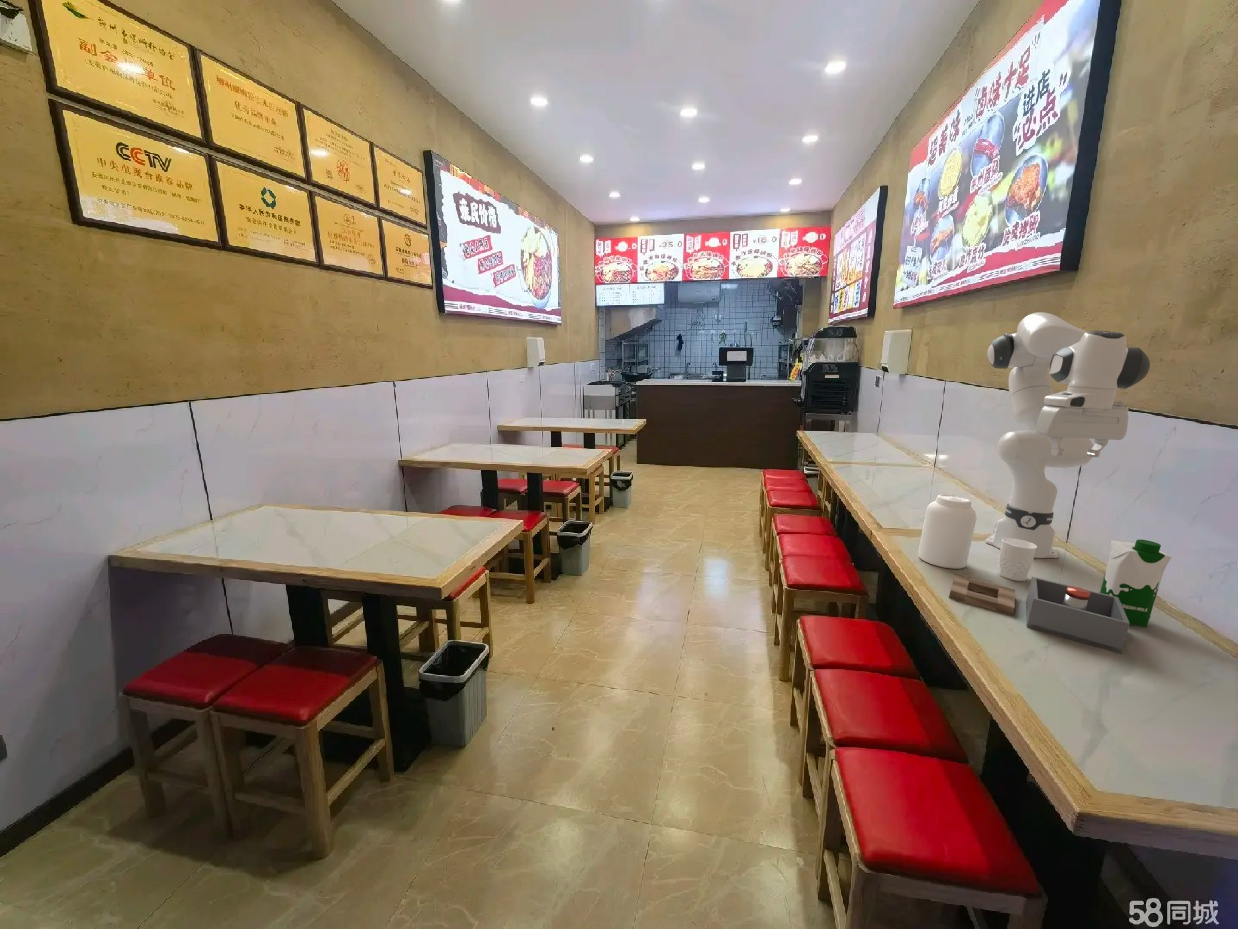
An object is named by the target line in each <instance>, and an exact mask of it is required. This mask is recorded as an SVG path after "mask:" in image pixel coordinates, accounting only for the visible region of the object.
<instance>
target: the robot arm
mask: <svg viewBox="0 0 1238 929" xmlns="http://www.w3.org/2000/svg"><path fill="white" fill-rule="evenodd" d="M1016 328H1017V329H1016V333H1009V334H1008V332H1006V333H1004V334H1003V335H1000V336H999V337H996V338H994V339H993V340H992V341H991V342H990V343H989V344H988V349H987V359H988V361H989V363H990V365H991V366H992V368H994V369H998V370H999V369H1003V370H1006V369H1009V368H1010V369H1011V370H1010V372H1009V374H1008V393H1009V394H1008V395H1009V400H1010V404H1011V408H1012V413H1013V416H1014V419H1015V421H1016V422H1017V423H1018V424H1020V425H1021V426H1023V427H1024V428H1027V430H1026V429H1025V430H1024V429H1023V430H1022V429H1021V430H1014V431H1007V432H1005V433H1004V434H1002V436H1000V438H999V440H998V441H997V445H996V446H997V447H996V448H997V449H996V450H997V453H998V456H999V458H1000V460H1002V461H1003V462H1004V463H1005V464H1006V465H1007V466H1008V467H1009V471H1010V473H1011V477H1012V486H1011V492H1010V497H1009V503H1008V504H1006V507H1005V512H1004V517H1002V518H1000V519H997V521H996V522H995V525H994V529H995V530H994V531H993V534H991V535H990V536H989V537H987V538H985V543H986V544H988V545H991V546H994V547H996V548H998V549H999V550H1000V548H1001V542H1002V539H1003V538H1013V539H1019V540H1023V541H1027V542H1030V543H1032V544H1034V545H1036V546H1037V549H1036V553H1035V556H1034V559H1035V558H1036V559H1046V558H1050V559H1051V558H1052V559H1058V558H1059V554H1058V553H1057V551H1055V550H1054V549H1053V546H1054V541H1055V537H1056V530H1055V529H1054V528H1053V527H1052V525H1051V524H1052V522H1053V519H1054V514H1055V513H1054V512H1053V511H1054V506H1055V503H1056V499H1057V495H1058V488H1057V486H1056V484H1054V482H1052V481H1051V480H1049V479H1048V478H1047V476H1046V474H1045V468H1046V467H1047V468H1061V469H1067V468H1068V469H1069V468H1075V467H1077V468H1078V467H1082V466H1085V465H1087V464H1088V463H1089V462H1090V461H1091V460H1092V458H1100V456H1101V451H1103V449H1104V448H1106V446H1107V445H1108V443H1109V441H1111V440H1112V441H1113V440H1115V441H1121V440H1123V439H1124V438H1125V437H1126V435H1127V430H1128V424H1129V414H1128V412H1129V406H1128V405H1127V404H1126V403H1125V402H1124V401H1115V399H1116V395H1117V391H1118V389H1124V390H1126V389H1129V388H1131V387H1133V386H1134V385H1136V384H1139V382H1141V381H1142V380H1144V379H1145V377H1147V375H1148V374H1149V371H1150V367H1151V364H1150V363H1151V362H1150V359H1149V356H1148V355H1147V354H1146V352H1145V351H1143V350H1142V349H1141V348H1140V347H1135V346H1134V347H1133V346H1132V347H1127V342H1128V340H1127V336H1126V335H1125V334H1124V333H1122V332H1118V331H1109V330H1090V331H1086V330H1084V329H1083V328H1080V327H1078V326H1075V325H1073V324H1071V323H1069V322H1067V321H1065V320H1064V319H1062V318H1061V317H1059V316H1058V315H1055V314H1052V313H1050V312H1049V313H1048V312H1041V311H1039V312H1032V313H1030V314H1028V315H1026V316H1025V317H1023V318H1022V319H1021V320H1020V322H1019V323H1018V325H1017V327H1016ZM1049 375H1050V377H1051V378H1052V379H1053V380H1054V381H1055V382H1057V383H1060V384H1065V385H1067V389H1066V390H1062V391H1060V392H1056V393H1055V392H1054V391H1055V390H1054V388H1053V385H1052V382H1051V380H1050V377H1049ZM1092 440H1094V441H1093V442H1094V443H1093V442H1092Z"/></svg>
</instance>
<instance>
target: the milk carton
mask: <svg viewBox="0 0 1238 929" xmlns="http://www.w3.org/2000/svg"><path fill="white" fill-rule="evenodd" d="M1110 542H1111V543H1110V550H1109V558H1108V562H1107V566H1106V568H1105V569H1106V570H1105V572H1104V573H1105V574H1104V576H1103V580H1102V584H1101V586H1100V591H1099V593H1102V594H1106V595H1111V596H1115V597H1118V598H1119V600H1120V602H1121V605H1122V607H1123V609H1124V611H1125V614H1126V616H1127V618H1128V621H1129V623H1130V625H1132V626H1138V627H1143V628H1147V627H1148V625H1149V621H1150V617H1151V615H1152V612H1153V607H1154V605H1155V604H1154V603H1155V600H1156V598H1157V595H1158V591H1159V588H1160V584H1161V581H1162V578H1163V576H1164V572H1165V570H1166V568H1167V566H1168V564H1169V563H1170V560H1171V559H1172V556H1171V555H1169V554H1168V553H1165V552H1164V551H1162V550H1161V544H1160V543H1158V542H1155V541H1151V540H1146V539H1136V541H1135V543H1134V542H1128V541H1120V540H1112V539H1111V541H1110Z"/></svg>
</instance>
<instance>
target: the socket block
mask: <svg viewBox="0 0 1238 929" xmlns="http://www.w3.org/2000/svg"><path fill="white" fill-rule="evenodd" d="M1015 594H1016V589H1014V588H1009V587H1006V586H1002V585H998V584H994V583H990V582H987V581H983V580H979V579H975V578H971V577H968V576H964V575H959V574H956V573H955V574H954V578H953V581H952V585H951V587H950V591H949V595H948V598H949V599H951V600H955V601H959V602H963V603H966V604H969V605H974V606H978V607H980V608H985V609H987V610H992V611H995V612H999V613H1002V614H1005V615H1009V616H1011V617H1012V616H1014V611H1015V604H1016V603H1015V597H1016V596H1015Z"/></svg>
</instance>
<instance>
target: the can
mask: <svg viewBox="0 0 1238 929" xmlns="http://www.w3.org/2000/svg"><path fill="white" fill-rule="evenodd" d="M976 512H977V511H976V510H975V509H974V508H973V507H972V502H971V500H970V499H968V498H966V497H964V496H961V495H956V494H950V493H949V494H948V493H941V494H938V495H937V496H936V498H935V500H934V501H932V502H931V503H929V504H928V505H927V506H926V510H925V516H924V521H923V526H922V532H921V536H920V541H919V545H918V546H919V547H918V552H917V555H918V558H919V559H920V560H923V561H924V562H926V563H928V564H931V565H934V566H936V567H940V568H943V569H944V568H945V569H953V570H954V569H957V570H960V569H963V568H965V567H966V566H967V564H968V559H969V555H970V549H971V545H972V541H973V536H974V531H975V527H976V522H977V514H976Z"/></svg>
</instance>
